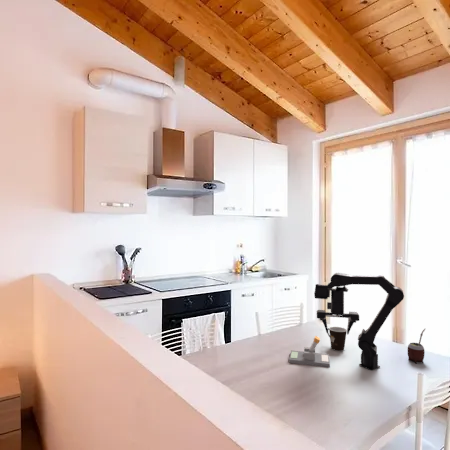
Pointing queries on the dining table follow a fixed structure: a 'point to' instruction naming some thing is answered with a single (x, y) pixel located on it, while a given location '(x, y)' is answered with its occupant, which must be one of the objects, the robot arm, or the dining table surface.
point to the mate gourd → (416, 351)
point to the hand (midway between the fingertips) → (337, 333)
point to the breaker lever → (314, 344)
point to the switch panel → (310, 362)
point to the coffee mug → (337, 338)
